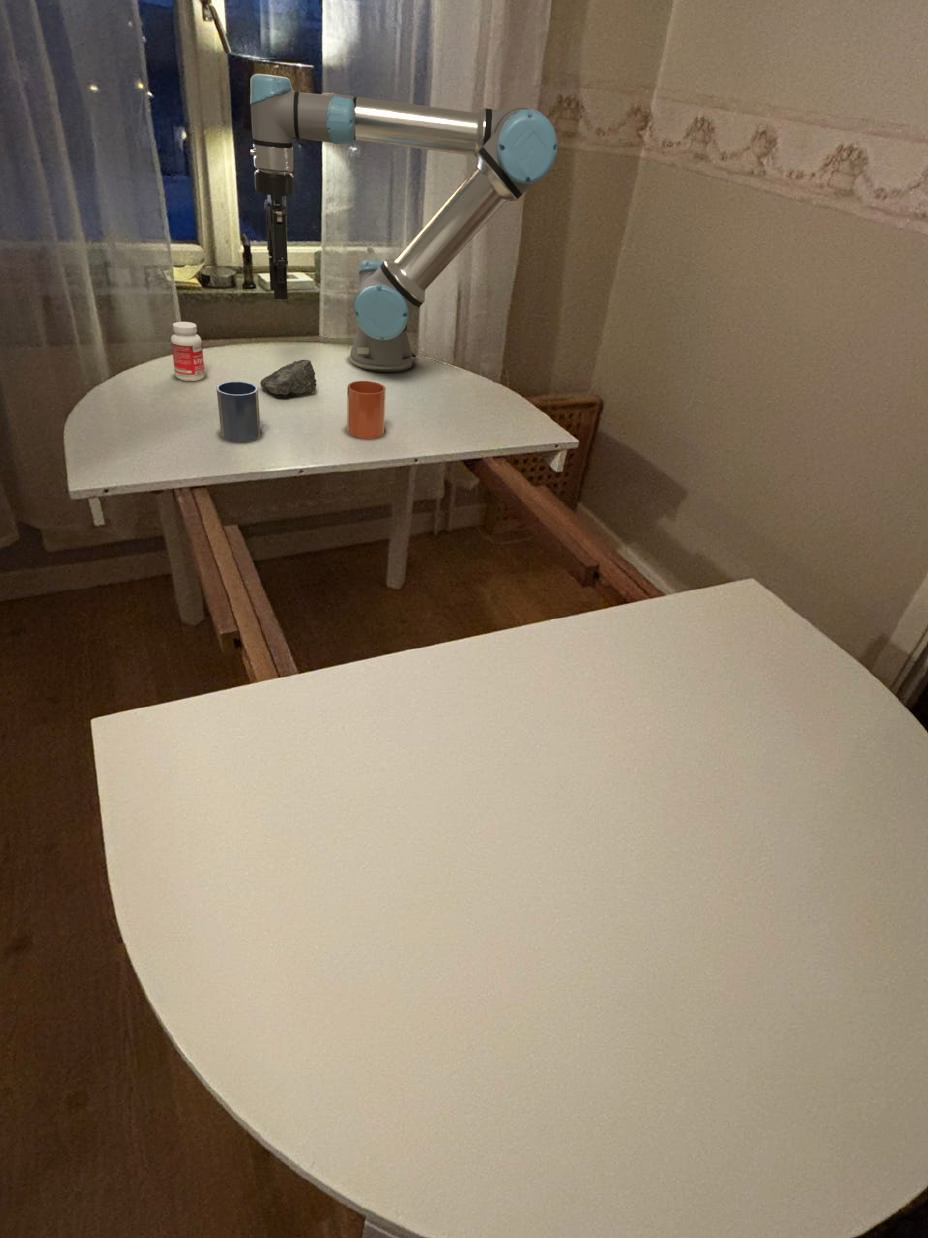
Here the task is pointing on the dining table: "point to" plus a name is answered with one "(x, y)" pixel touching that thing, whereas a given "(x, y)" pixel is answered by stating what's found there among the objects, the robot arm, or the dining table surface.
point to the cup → (238, 411)
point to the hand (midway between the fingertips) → (278, 294)
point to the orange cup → (365, 409)
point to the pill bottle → (187, 352)
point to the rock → (291, 379)
